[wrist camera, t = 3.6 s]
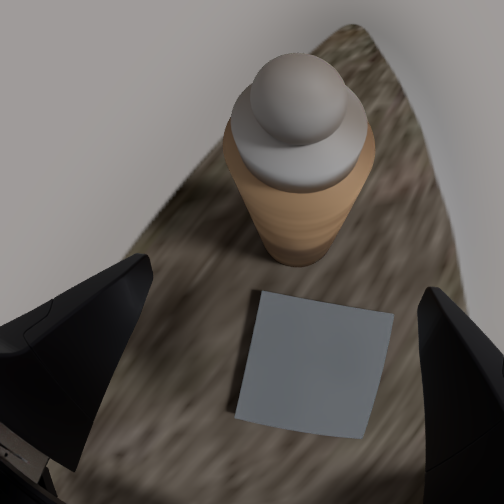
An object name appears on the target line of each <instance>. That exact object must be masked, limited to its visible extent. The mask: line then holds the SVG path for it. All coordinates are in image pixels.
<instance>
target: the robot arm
mask: <svg viewBox="0 0 504 504" xmlns="http://www.w3.org/2000/svg"><path fill="white" fill-rule="evenodd" d="M152 281H153V271H152V267H151V263H150V259H149V257H148V255H146V254H140V253H136V254H134V255H132V256H130V257H128V258H126V259H124V260H122V261H120V262H118V263H117V264H115V265H113V266H111V267H109V268H107V269H105V270H103V271H102V272H100V273H98V274H97V275H94V276H92V277H90V278H89V279H87V280H85V281H83V282H81V283H80V284H78V285H76V286H74V287H72V288H71V289H69V290H67V291H65V292H64V293H62V294H60V295H58V296H57V297H55V298H54V299H51V300H50V301H48V302H46V303H44V304H42V305H41V306H39V307H37V308H35V309H34V310H32V311H30V312H28V313H26V314H24V315H22V316H20V317H18V318H16V319H14V320H12V321H10V322H8V323H6V324H4V325H2V326H0V504H66V503H65V502H63V501H61V500H60V499H58V498H57V497H58V496H57V494H56V491H55V488H54V485H53V482H52V479H51V476H50V473H49V469H48V468H47V467H46V465H47V463H48V461H49V459H50V458H51V459H52V460H54V461H56V462H57V463H59V464H60V465H62V466H64V467H66V468H67V469H69V470H71V471H73V472H75V471H76V468H77V466H78V463H79V460H80V457H81V454H82V452H83V449H84V446H85V443H86V441H87V438H88V435H89V433H90V430H91V428H92V425H93V421H94V419H95V417H96V414H97V412H98V409H99V407H100V404H101V402H102V400H103V397H104V395H105V392H106V390H107V388H108V385H109V383H110V380H111V378H112V376H113V374H114V371H115V369H116V367H117V364H118V362H119V360H120V358H121V355H122V353H123V351H124V349H125V347H126V345H127V342H128V340H129V338H130V336H131V334H132V332H133V330H134V327H135V325H136V323H137V321H138V319H139V316H140V314H141V311H142V308H143V306H144V303H145V300H146V297H147V295H148V292H149V289H150V286H151V284H152ZM417 316H418V334H419V356H420V365H421V374H422V384H423V395H424V410H425V435H426V465H425V472H426V473H425V486H424V500H423V504H504V355H503V354H502V353H501V352H500V350H499V349H498V348H497V347H496V346H495V345H494V344H493V343H492V341H491V340H490V339H489V338H488V337H487V336H486V335H485V334H484V333H483V332H482V331H481V329H480V328H479V327H478V326H477V325H476V324H475V323H474V322H473V321H472V320H471V319H470V318H469V317H468V316H467V315H466V314H465V313H464V312H463V311H462V310H461V309H460V308H459V307H458V306H457V305H456V304H455V303H454V302H453V301H452V300H451V299H450V298H449V297H448V296H447V295H446V294H445V293H444V292H443V291H442V290H441V289H440V288H438V287H427V288H426V290H425V292H424V294H423V296H422V299H421V301H420V303H419V305H418V310H417Z"/></svg>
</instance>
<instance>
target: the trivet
mask: <svg viewBox="0 0 504 504" xmlns="http://www.w3.org/2000/svg"><path fill="white" fill-rule="evenodd" d="M393 319H394V314H390V313H384V312H377V311H371V310H365V309H359V308H353V307H347V306H342V305H336V304H330V303H325V302H319V301H314V300H308V299H303V298H297V297H292V296H287V295H282V294H277V293H271V292H266V291H262V294H261V298H260V303H259V308H258V313H257V317H256V322H255V327H254V332H253V336H252V341H251V346H250V350H249V355H248V359H247V364H246V368H245V373H244V378H243V382H242V387H241V391H240V395H239V400H238V404H237V409H236V413H235V418H237V419H241V420H245V421H249V422H253V423H258V424H262V425H267V426H272V427H277V428H282V429H288V430H293V431H299V432H306V433H312V434H320V435H327V436H336V437H345V438H356V439H362V438H363V435H364V432H365V429H366V426H367V423H368V420H369V417H370V414H371V410H372V407H373V404H374V400H375V397H376V393H377V390H378V386H379V382H380V378H381V374H382V370H383V366H384V362H385V358H386V353H387V349H388V344H389V340H390V335H391V330H392V324H393Z"/></svg>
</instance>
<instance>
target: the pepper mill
mask: <svg viewBox="0 0 504 504" xmlns="http://www.w3.org/2000/svg"><path fill="white" fill-rule="evenodd" d="M223 152H224V157H225V161H226V164H227V166H228V168H229V171H230V173H231V175H232V177H233V179H234V181H235V183H236V185H237V188H238V190H239V192H240V194H241V196H242V198H243V201H244V203H245V205H246V207H247V209H248V211H249V213H250V216H251V218H252V220H253V222H254V224H255V226H256V229H257V231H258V233H259V235H260V237H261V240H262V242H263V244H264V246H265V248H266V250H267V251H268V253H269V254H270V255H271V256H272V257H273V258H274V259H275V260H276V261H278V262H280V263H281V264H284V265H286V266H290V267H305V266H309V265H311V264H314V263H316V262H317V261H319V260H320V259H321V258H322V257H323V256H324V255H325V254H326V253H327V251H328V250H329V248H330V246H331V244H332V243H333V241H334V239H335V237H336V235H337V234H338V232H339V230H340V228H341V226H342V224H343V223H344V221H345V219H346V217H347V215H348V213H349V211H350V210H351V208H352V206H353V204H354V202H355V200H356V198H357V196H358V194H359V192H360V190H361V189H362V187H363V185H364V183H365V181H366V179H367V177H368V175H369V173H370V170H371V168H372V165H373V162H374V157H375V141H374V136H373V132H372V129H371V127H370V125H369V123H368V121H367V117H366V113H365V110H364V108H363V106H362V104H361V102H360V100H359V99H358V98H357V96H356V95H355V94H354V93H353V92H352V91H351V90H350V89H349V88H348V87H347V86H345V84H344V81H343V80H342V78H341V76H340V75H339V73H338V72H337V71H336V70H335V69H334V68H333V67H332V66H331V65H330V64H329V63H327V62H326V61H324V60H322V59H321V58H318V57H316V56H313V55H309V54H304V53H291V54H285V55H281V56H279V57H276V58H274V59H273V60H271V61H269V62H268V63H267V64H265V65H264V66H263V67H262V69H261V70H260V71H259V72H258V74H257V75H256V77H255V79H254V81H253V83H252V84H251V85H249V86H248V87H247V88H246V89H245V90H244V91H243V92H242V94H241V95H240V96H239V97H238V99H237V101H236V102H235V105H234V107H233V110H232V114H231V117H230V119H229V121H228V123H227V126H226V129H225V132H224V137H223Z"/></svg>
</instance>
